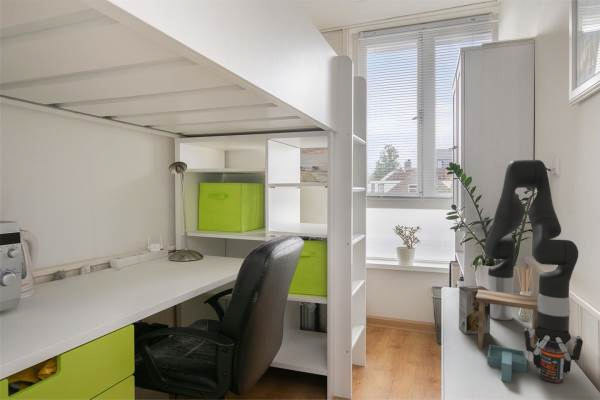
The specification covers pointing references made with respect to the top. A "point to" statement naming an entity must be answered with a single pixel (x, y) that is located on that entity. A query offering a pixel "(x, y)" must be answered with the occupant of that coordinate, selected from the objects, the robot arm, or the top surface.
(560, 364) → the supplement bottle
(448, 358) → the top surface
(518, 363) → the dustpan
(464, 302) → the coffee box
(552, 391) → the top surface
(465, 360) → the top surface
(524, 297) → the wooden bridge stand
